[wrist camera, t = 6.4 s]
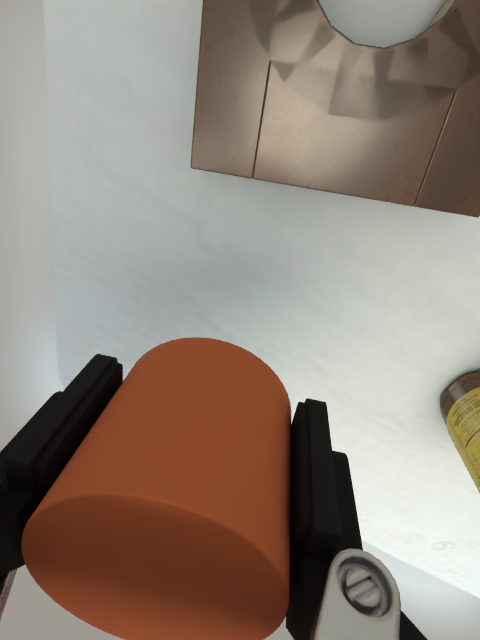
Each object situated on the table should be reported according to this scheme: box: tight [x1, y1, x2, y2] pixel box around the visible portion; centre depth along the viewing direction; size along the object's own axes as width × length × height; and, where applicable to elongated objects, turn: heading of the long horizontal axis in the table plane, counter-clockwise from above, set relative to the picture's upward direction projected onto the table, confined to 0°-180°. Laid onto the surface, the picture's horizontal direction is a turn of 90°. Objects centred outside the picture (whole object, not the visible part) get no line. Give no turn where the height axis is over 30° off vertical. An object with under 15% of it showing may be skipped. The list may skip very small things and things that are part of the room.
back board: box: [191, 0, 480, 217], centre depth 17 cm, size 16×16×2 cm
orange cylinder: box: [21, 337, 291, 640], centre depth 9 cm, size 5×5×5 cm
